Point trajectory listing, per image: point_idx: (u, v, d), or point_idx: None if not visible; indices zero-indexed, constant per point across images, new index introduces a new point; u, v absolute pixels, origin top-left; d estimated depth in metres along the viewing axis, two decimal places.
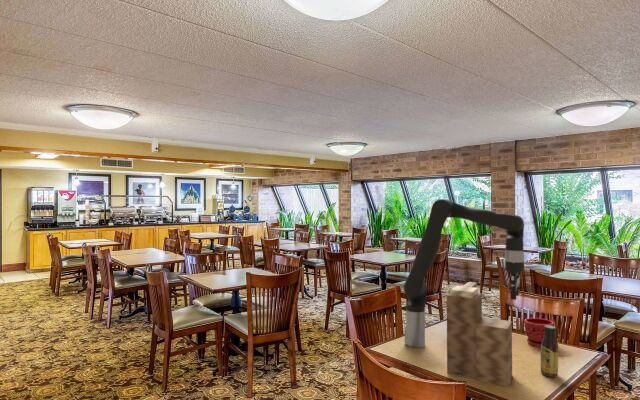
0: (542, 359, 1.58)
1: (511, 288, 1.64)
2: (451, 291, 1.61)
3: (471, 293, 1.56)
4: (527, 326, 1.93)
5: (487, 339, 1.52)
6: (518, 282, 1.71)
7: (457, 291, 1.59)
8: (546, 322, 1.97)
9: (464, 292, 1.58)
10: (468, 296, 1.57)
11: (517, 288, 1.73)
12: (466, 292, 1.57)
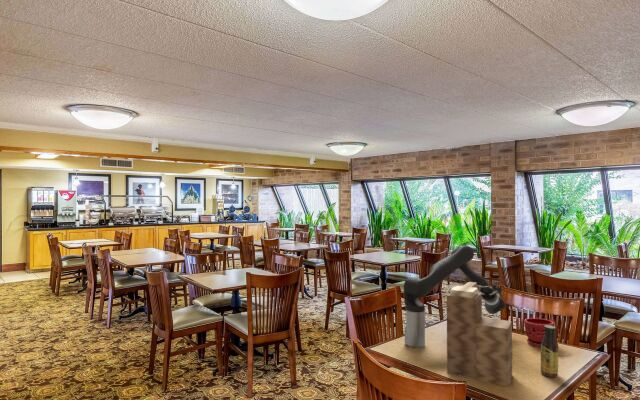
0: (542, 359, 1.58)
1: (501, 289, 1.87)
2: (451, 291, 1.61)
3: (471, 293, 1.56)
4: (527, 326, 1.93)
5: (487, 339, 1.52)
6: (480, 291, 1.93)
7: (457, 291, 1.59)
8: (546, 322, 1.97)
9: (464, 292, 1.58)
10: (468, 296, 1.57)
11: None
12: (466, 292, 1.57)
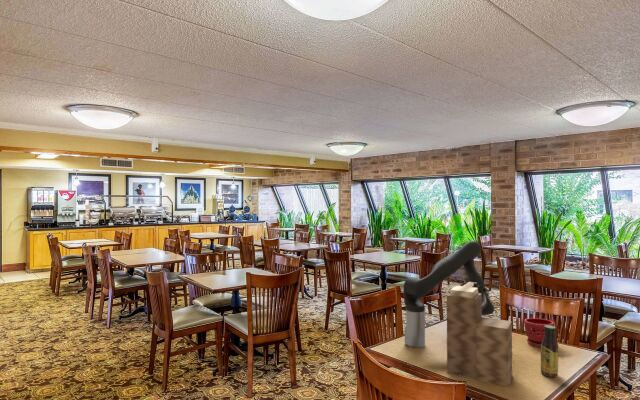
0: (542, 359, 1.58)
1: (483, 288, 1.73)
2: (451, 291, 1.61)
3: (471, 293, 1.56)
4: (527, 326, 1.93)
5: (487, 339, 1.52)
6: None
7: (457, 291, 1.59)
8: (546, 322, 1.97)
9: (464, 292, 1.58)
10: (468, 296, 1.57)
11: None
12: (466, 292, 1.57)
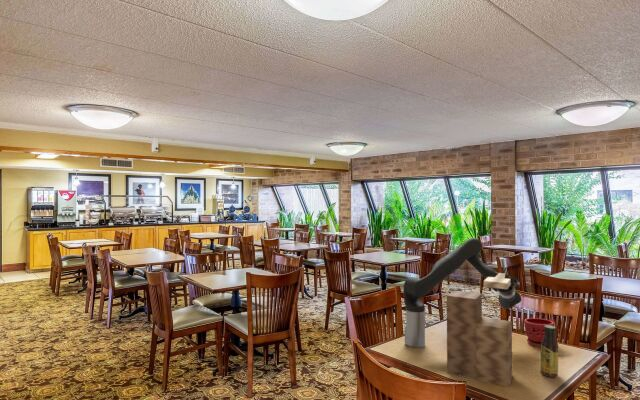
0: (542, 359, 1.58)
1: (514, 279, 1.74)
2: (485, 282, 1.62)
3: (505, 284, 1.58)
4: (527, 326, 1.93)
5: (487, 339, 1.52)
6: None
7: (491, 282, 1.61)
8: (546, 322, 1.97)
9: (498, 283, 1.59)
10: (502, 287, 1.58)
11: None
12: (500, 283, 1.59)
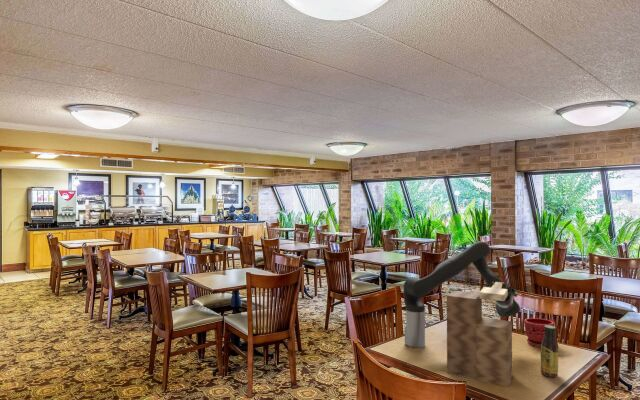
0: (542, 359, 1.58)
1: None
2: (481, 294, 1.54)
3: (502, 296, 1.50)
4: (527, 326, 1.93)
5: (487, 339, 1.52)
6: None
7: (487, 294, 1.53)
8: (546, 322, 1.97)
9: (495, 295, 1.52)
10: (499, 299, 1.51)
11: None
12: (497, 295, 1.51)
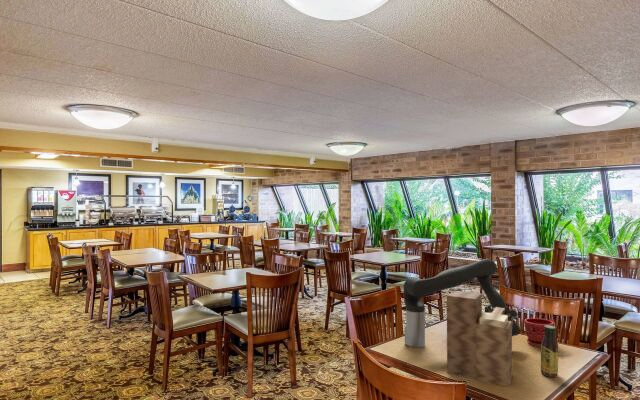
0: (542, 359, 1.58)
1: (514, 312, 1.66)
2: (481, 320, 1.54)
3: (502, 322, 1.50)
4: (527, 326, 1.93)
5: (487, 339, 1.52)
6: None
7: (487, 320, 1.53)
8: (546, 322, 1.97)
9: (495, 321, 1.51)
10: (499, 325, 1.51)
11: (491, 310, 1.69)
12: (497, 321, 1.51)
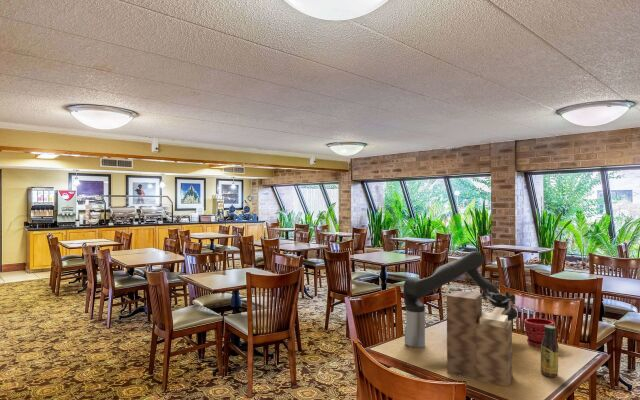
0: (542, 359, 1.58)
1: (514, 297, 1.80)
2: (481, 320, 1.54)
3: (502, 322, 1.50)
4: (527, 326, 1.93)
5: (487, 339, 1.52)
6: (492, 298, 1.85)
7: (487, 320, 1.53)
8: (546, 322, 1.97)
9: (495, 321, 1.51)
10: (499, 325, 1.51)
11: (488, 295, 1.84)
12: (497, 321, 1.51)
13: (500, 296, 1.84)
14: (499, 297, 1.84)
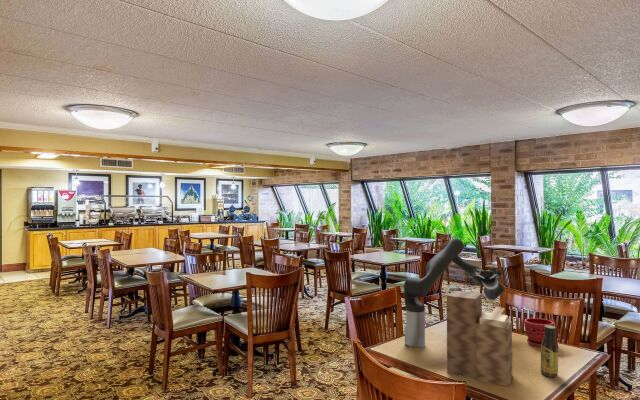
0: (542, 359, 1.58)
1: (501, 272, 1.90)
2: (481, 320, 1.54)
3: (502, 322, 1.50)
4: (527, 326, 1.93)
5: (487, 339, 1.52)
6: (480, 274, 1.95)
7: (487, 320, 1.53)
8: (546, 322, 1.97)
9: (495, 321, 1.51)
10: (499, 325, 1.51)
11: (476, 271, 1.94)
12: (497, 321, 1.51)
13: (488, 272, 1.94)
14: (487, 273, 1.94)
